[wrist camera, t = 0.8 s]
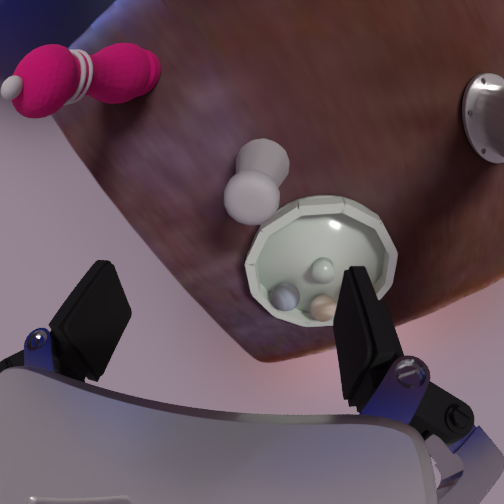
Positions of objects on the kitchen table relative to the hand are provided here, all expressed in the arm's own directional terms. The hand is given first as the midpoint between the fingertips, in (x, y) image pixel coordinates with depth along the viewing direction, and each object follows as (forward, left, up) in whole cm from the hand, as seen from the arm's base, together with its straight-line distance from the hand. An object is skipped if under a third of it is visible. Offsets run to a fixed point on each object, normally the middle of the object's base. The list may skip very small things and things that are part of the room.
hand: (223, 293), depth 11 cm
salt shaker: (0, +1, -24) cm, 24 cm away
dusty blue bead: (-2, +19, -22) cm, 29 cm away
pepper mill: (+13, -13, -24) cm, 30 cm away
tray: (-6, +16, -24) cm, 29 cm away
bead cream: (-6, +21, -22) cm, 31 cm away
